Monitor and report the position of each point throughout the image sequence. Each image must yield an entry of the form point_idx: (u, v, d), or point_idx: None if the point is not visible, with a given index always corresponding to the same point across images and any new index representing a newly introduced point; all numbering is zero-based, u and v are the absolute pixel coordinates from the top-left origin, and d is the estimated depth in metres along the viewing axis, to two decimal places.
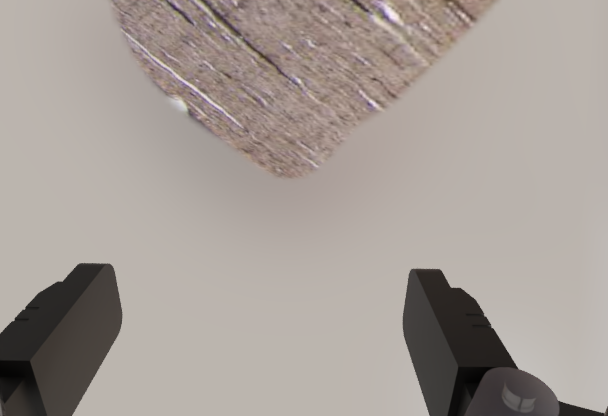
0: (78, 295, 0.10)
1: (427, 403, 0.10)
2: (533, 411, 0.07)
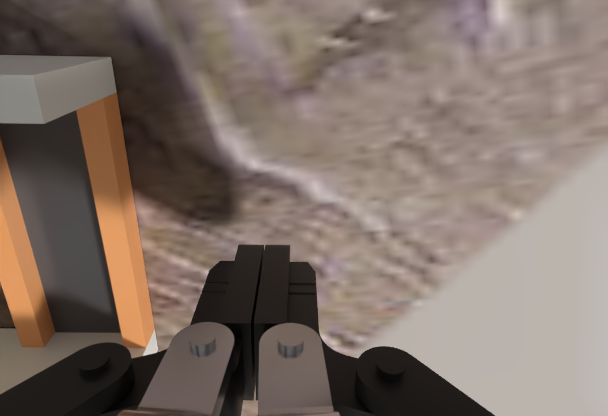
0: (256, 270, 0.11)
1: None
2: (294, 357, 0.08)
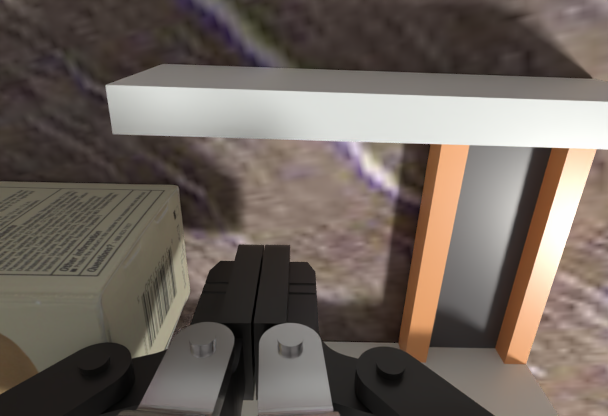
0: (257, 271, 0.11)
1: None
2: (294, 357, 0.08)
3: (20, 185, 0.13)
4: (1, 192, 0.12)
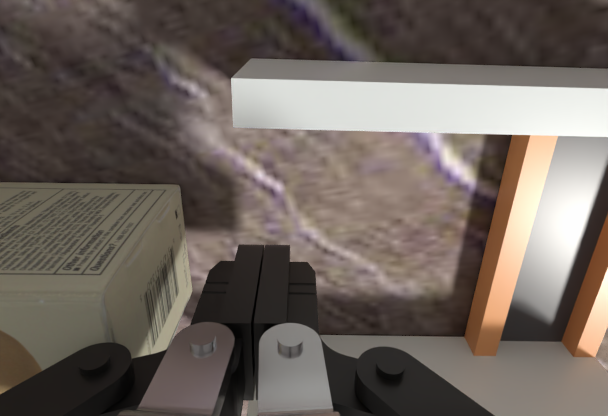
0: (257, 270, 0.11)
1: None
2: (294, 357, 0.08)
3: (22, 185, 0.13)
4: (3, 193, 0.13)
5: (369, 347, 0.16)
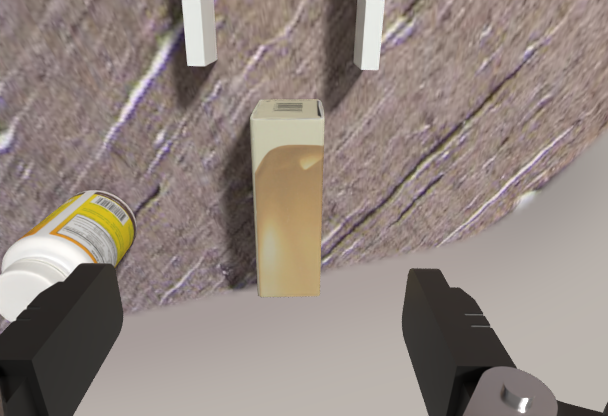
0: (79, 294, 0.10)
1: (426, 403, 0.10)
2: (531, 410, 0.07)
3: None
4: None
5: None
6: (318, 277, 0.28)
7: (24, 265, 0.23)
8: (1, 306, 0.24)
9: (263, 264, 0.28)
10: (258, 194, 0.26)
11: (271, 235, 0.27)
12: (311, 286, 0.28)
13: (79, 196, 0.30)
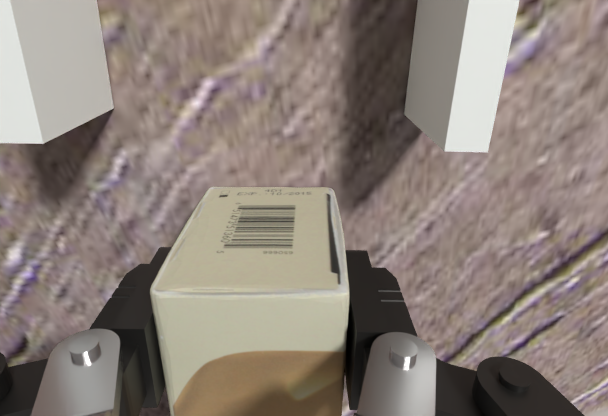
0: None
1: (345, 372, 0.10)
2: (411, 368, 0.08)
3: None
4: None
5: None
6: None
7: None
8: None
9: None
10: None
11: None
12: None
13: None
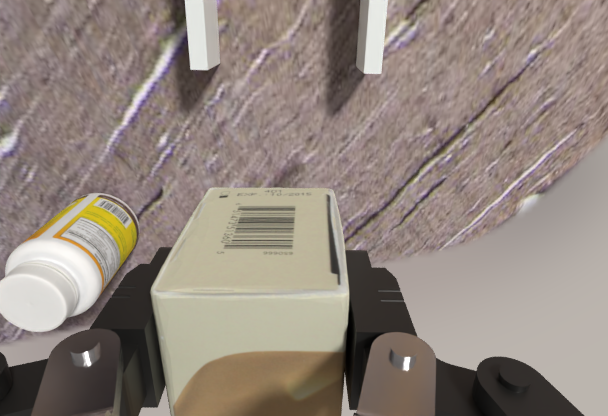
0: None
1: (345, 372, 0.10)
2: (411, 368, 0.08)
3: None
4: None
5: None
6: None
7: (27, 269, 0.23)
8: (5, 309, 0.24)
9: None
10: None
11: None
12: None
13: (82, 199, 0.30)
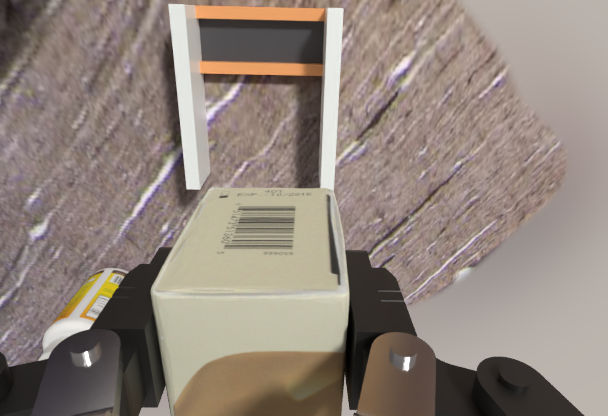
0: None
1: (345, 372, 0.10)
2: (411, 367, 0.08)
3: None
4: None
5: (320, 125, 0.33)
6: None
7: None
8: None
9: None
10: None
11: None
12: None
13: (100, 275, 0.38)
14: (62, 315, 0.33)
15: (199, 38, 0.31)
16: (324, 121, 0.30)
